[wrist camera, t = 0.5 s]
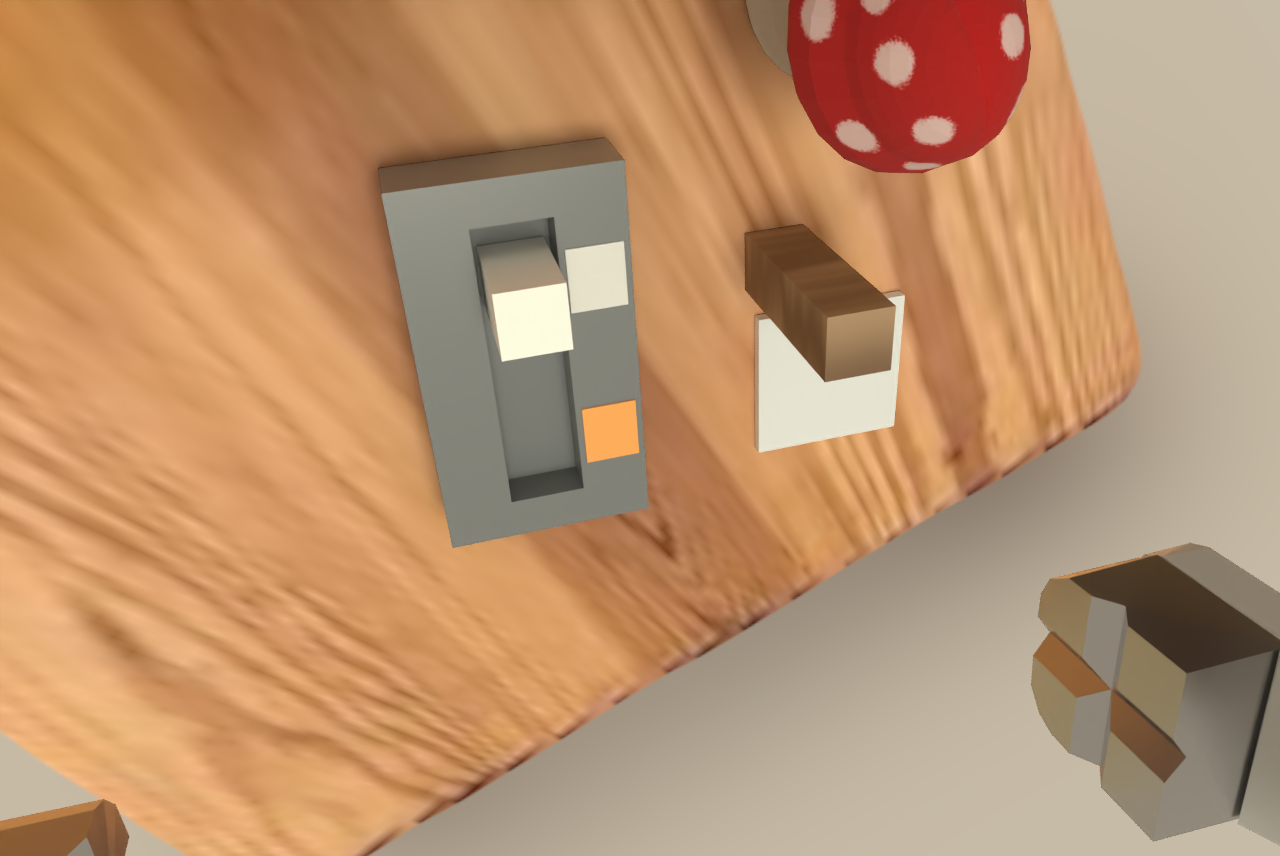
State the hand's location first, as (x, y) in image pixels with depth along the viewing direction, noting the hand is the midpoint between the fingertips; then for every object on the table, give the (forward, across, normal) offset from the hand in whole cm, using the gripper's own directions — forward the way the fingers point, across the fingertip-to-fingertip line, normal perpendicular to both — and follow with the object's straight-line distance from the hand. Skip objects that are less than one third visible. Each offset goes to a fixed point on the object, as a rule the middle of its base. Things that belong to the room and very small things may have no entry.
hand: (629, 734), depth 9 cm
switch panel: (+40, -4, +10) cm, 41 cm away
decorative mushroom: (+38, -18, -4) cm, 42 cm away
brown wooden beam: (+39, -17, +8) cm, 44 cm away
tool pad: (+40, -20, +15) cm, 47 cm away
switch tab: (+38, -4, +7) cm, 39 cm away
